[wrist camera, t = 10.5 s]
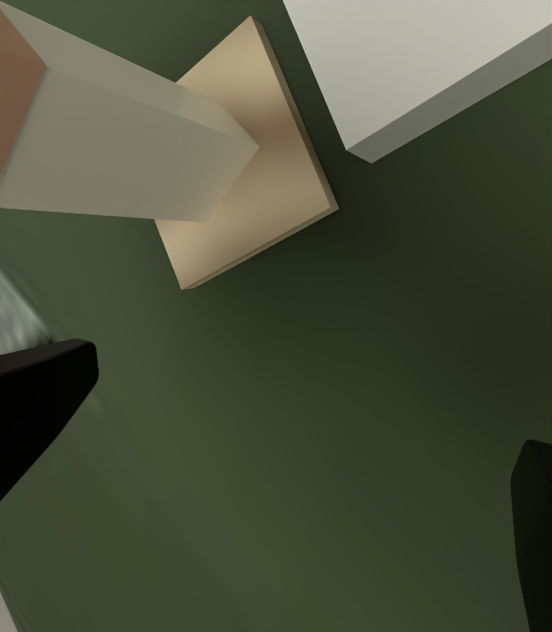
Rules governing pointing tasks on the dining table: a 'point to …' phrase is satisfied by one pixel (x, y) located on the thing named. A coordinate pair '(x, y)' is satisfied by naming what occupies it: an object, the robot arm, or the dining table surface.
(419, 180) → the dining table surface
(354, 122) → the white slotted base
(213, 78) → the pad
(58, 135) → the rectangular peg
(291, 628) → the dining table surface
